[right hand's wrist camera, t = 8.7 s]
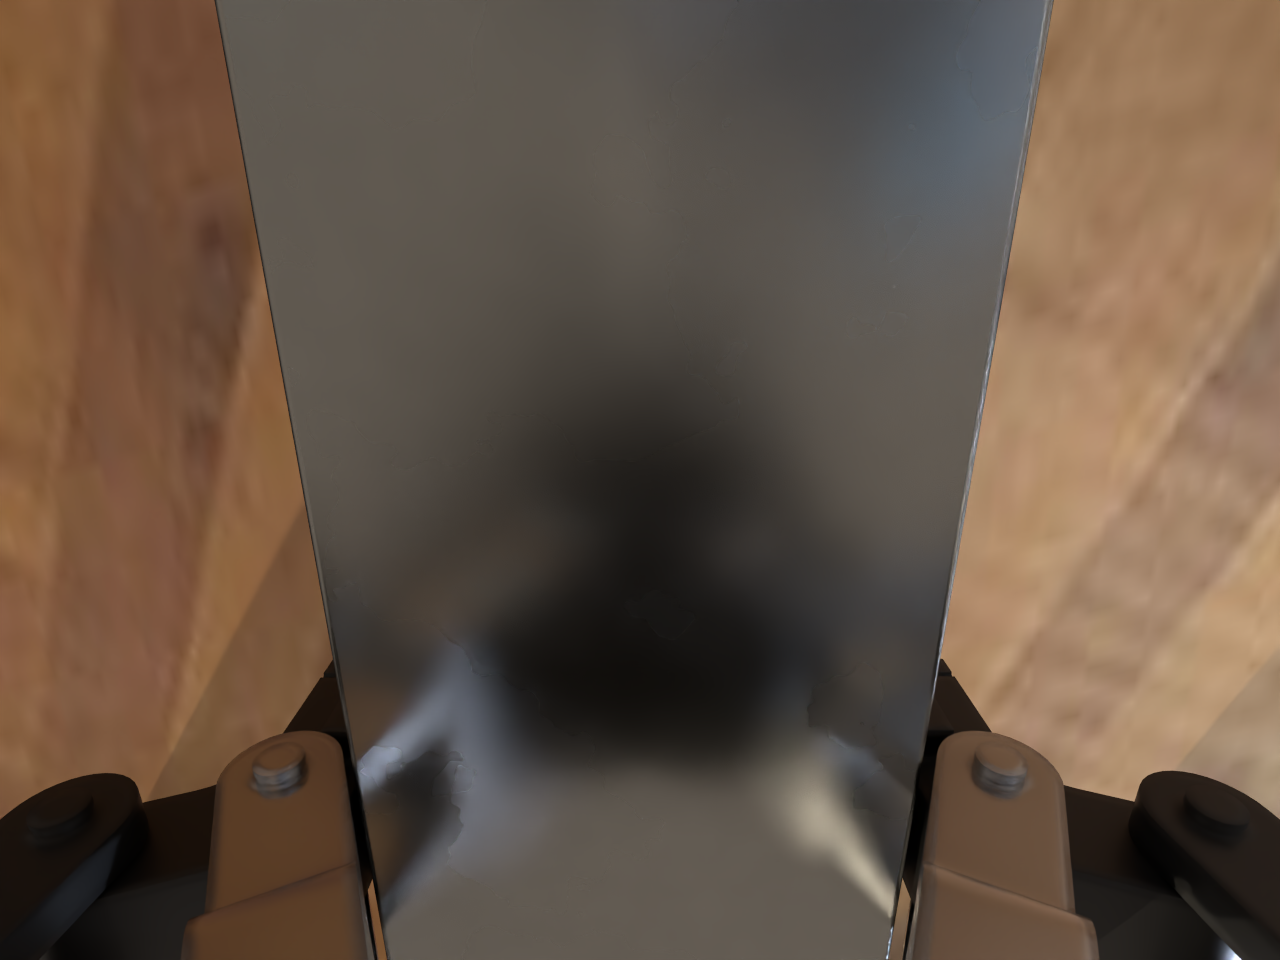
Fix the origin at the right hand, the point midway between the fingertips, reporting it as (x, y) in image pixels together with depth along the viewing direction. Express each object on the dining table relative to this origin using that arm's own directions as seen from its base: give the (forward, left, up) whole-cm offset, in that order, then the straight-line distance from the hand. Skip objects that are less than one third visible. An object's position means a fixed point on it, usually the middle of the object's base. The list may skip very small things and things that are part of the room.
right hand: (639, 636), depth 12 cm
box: (+9, 0, -5) cm, 10 cm away
